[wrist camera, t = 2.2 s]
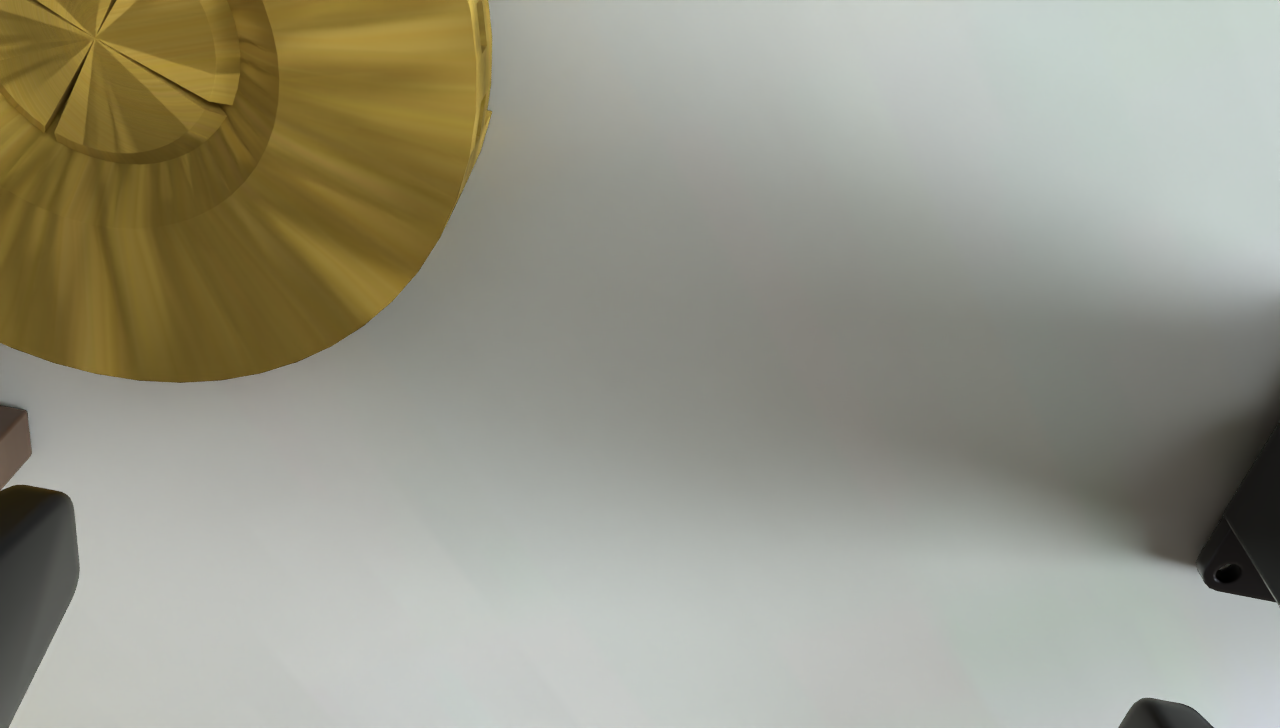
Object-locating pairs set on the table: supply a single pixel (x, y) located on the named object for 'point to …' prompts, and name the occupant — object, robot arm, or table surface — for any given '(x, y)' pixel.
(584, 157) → the table surface
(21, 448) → the frame
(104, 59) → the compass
